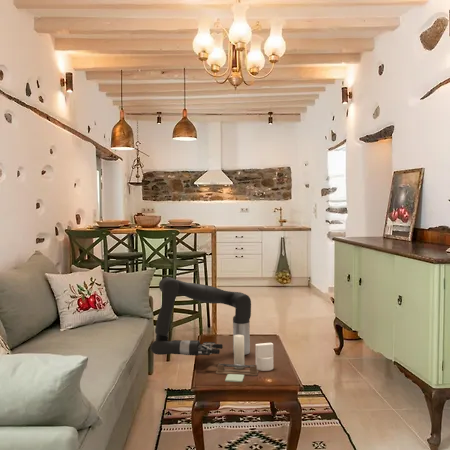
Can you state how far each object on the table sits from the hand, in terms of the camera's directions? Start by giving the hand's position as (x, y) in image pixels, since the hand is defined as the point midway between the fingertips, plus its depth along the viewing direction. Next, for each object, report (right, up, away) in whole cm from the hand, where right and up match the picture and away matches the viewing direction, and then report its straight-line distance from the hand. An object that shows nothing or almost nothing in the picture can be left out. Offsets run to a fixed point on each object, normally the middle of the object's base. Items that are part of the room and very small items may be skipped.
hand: (221, 348), depth 234 cm
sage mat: (+7, -10, -17) cm, 20 cm away
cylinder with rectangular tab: (+22, -9, -2) cm, 24 cm away
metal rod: (+8, -6, -9) cm, 13 cm away
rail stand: (+8, -9, -9) cm, 15 cm away
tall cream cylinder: (+9, -9, -1) cm, 13 cm away
